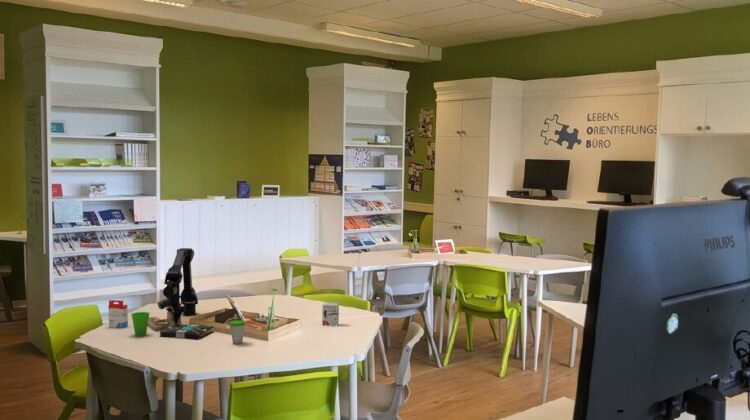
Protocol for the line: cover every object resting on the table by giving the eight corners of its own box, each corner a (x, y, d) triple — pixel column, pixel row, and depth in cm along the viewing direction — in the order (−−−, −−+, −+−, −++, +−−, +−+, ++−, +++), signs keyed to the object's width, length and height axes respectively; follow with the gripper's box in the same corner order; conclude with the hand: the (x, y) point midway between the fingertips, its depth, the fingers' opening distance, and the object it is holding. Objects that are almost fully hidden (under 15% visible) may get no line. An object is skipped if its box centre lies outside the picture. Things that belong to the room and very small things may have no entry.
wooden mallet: (178, 324, 357) (178, 310, 356) (181, 326, 353) (181, 311, 352) (152, 328, 349) (152, 313, 348) (155, 330, 345) (155, 314, 344)
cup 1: (154, 334, 336) (153, 312, 336) (140, 338, 328) (140, 316, 327) (140, 332, 340) (140, 311, 339) (127, 336, 332) (126, 314, 331)
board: (156, 320, 367) (156, 316, 367) (170, 329, 347) (170, 325, 347) (141, 322, 363) (141, 318, 363) (155, 331, 342) (155, 327, 342)
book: (159, 337, 331) (159, 327, 331) (176, 330, 348) (176, 320, 347) (199, 340, 326) (199, 330, 326) (214, 332, 343) (214, 323, 343)
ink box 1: (128, 326, 353) (127, 298, 352) (123, 328, 348) (123, 300, 347) (112, 325, 354) (112, 298, 353) (108, 327, 349) (108, 300, 348)
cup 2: (227, 341, 323) (227, 311, 322) (243, 340, 326) (243, 310, 326) (231, 345, 316) (231, 314, 315) (247, 344, 319) (247, 313, 318)
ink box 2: (322, 325, 360) (322, 304, 359) (323, 323, 365) (323, 302, 364) (337, 326, 359) (337, 304, 358) (338, 324, 364) (338, 302, 363)
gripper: (153, 292, 355) (153, 321, 356) (164, 298, 340) (164, 328, 341) (174, 290, 361) (174, 318, 362) (185, 296, 346) (185, 325, 347)
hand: (174, 322), depth 353 cm, fingers closed on wooden mallet, 5 cm apart
